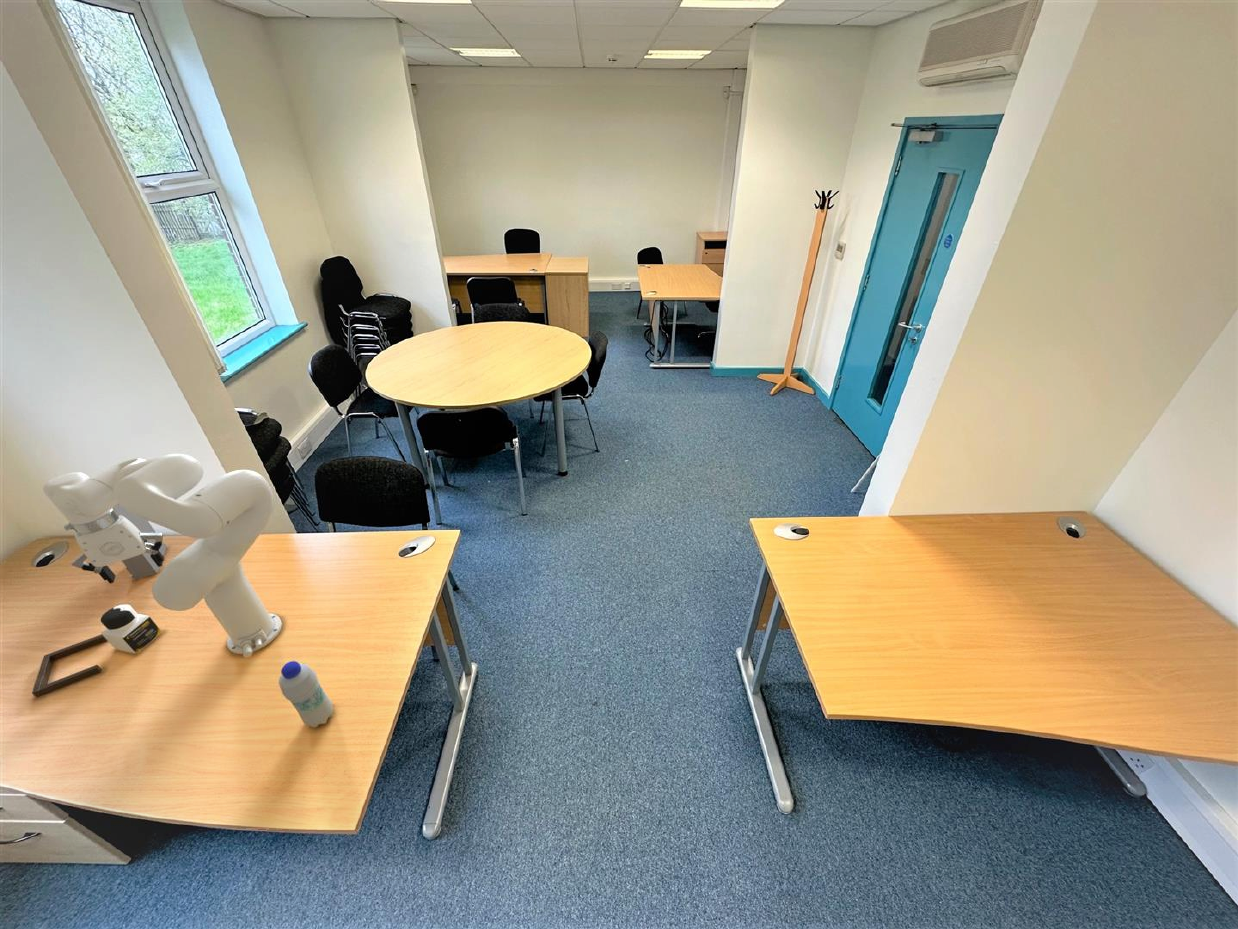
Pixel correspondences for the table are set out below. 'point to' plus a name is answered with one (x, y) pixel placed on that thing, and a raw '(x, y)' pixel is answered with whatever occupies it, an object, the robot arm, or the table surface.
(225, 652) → the table surface
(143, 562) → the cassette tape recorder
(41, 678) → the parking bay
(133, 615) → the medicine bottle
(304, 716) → the bottle
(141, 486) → the robot arm
